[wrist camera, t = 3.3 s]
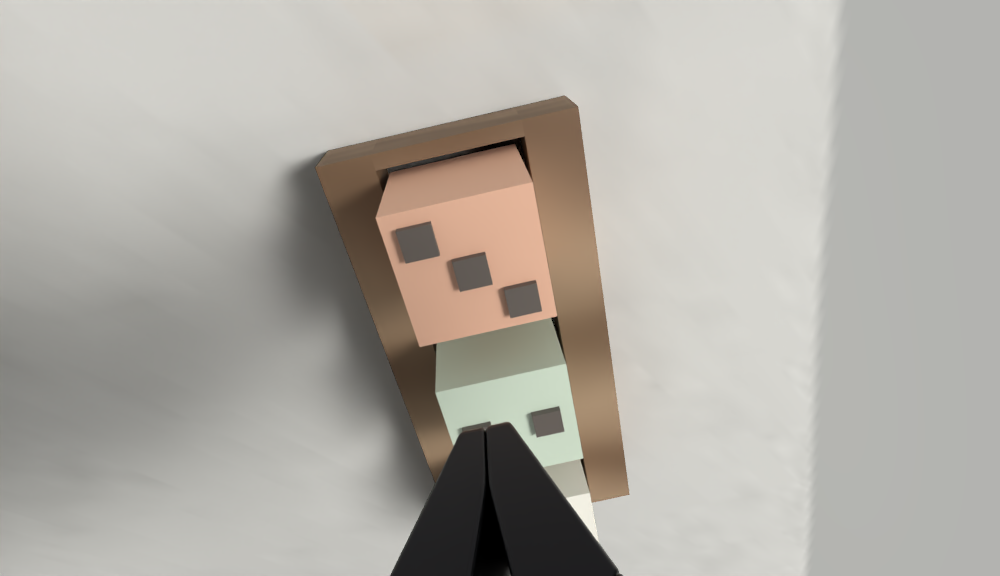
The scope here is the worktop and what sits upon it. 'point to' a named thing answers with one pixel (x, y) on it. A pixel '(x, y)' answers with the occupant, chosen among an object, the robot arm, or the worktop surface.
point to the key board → (570, 256)
